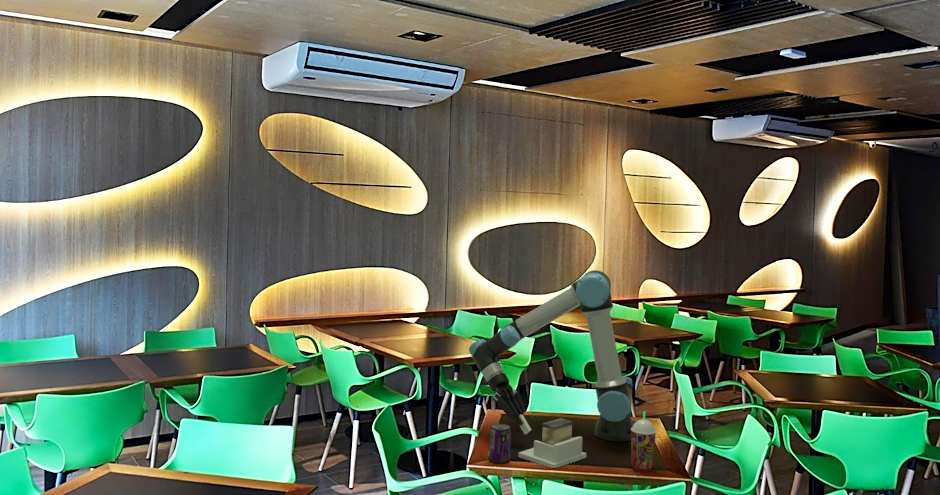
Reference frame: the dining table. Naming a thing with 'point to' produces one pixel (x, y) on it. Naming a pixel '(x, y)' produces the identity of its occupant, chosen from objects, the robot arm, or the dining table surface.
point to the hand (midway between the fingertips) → (528, 432)
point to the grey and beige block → (556, 431)
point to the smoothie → (642, 444)
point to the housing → (555, 453)
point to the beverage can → (500, 443)
